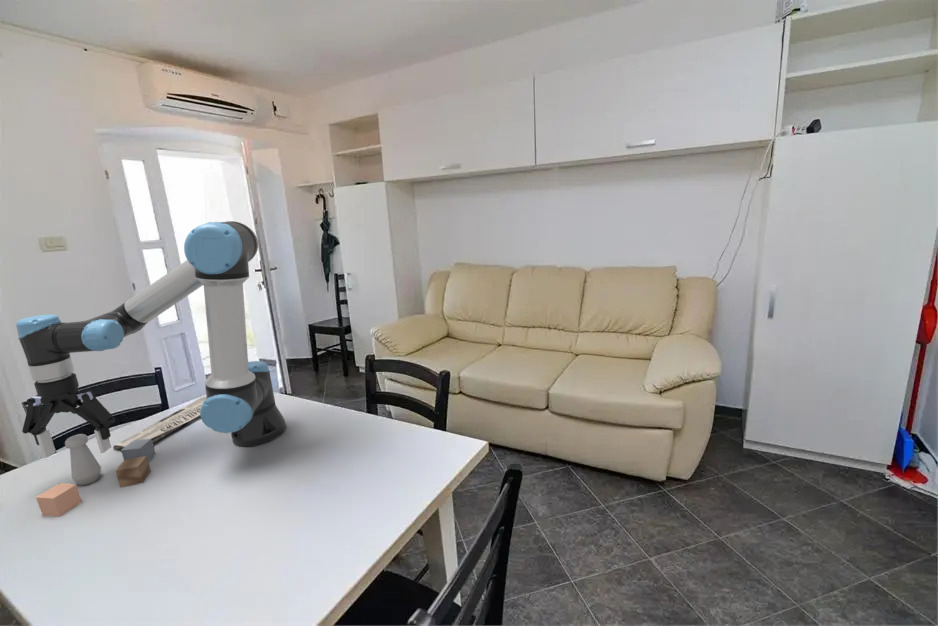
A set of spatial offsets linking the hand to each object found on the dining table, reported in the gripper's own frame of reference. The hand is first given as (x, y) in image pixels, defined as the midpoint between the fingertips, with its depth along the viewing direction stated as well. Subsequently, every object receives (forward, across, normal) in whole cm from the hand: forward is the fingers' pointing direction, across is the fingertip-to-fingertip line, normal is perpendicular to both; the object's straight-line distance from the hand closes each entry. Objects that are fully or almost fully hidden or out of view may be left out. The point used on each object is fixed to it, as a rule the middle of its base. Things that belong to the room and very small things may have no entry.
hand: (78, 452), depth 108 cm
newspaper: (+9, -7, -29) cm, 31 cm away
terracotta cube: (+8, -3, +11) cm, 14 cm away
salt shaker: (+9, -1, 0) cm, 9 cm away
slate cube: (+8, -9, -8) cm, 14 cm away
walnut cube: (+8, -14, +2) cm, 16 cm away
